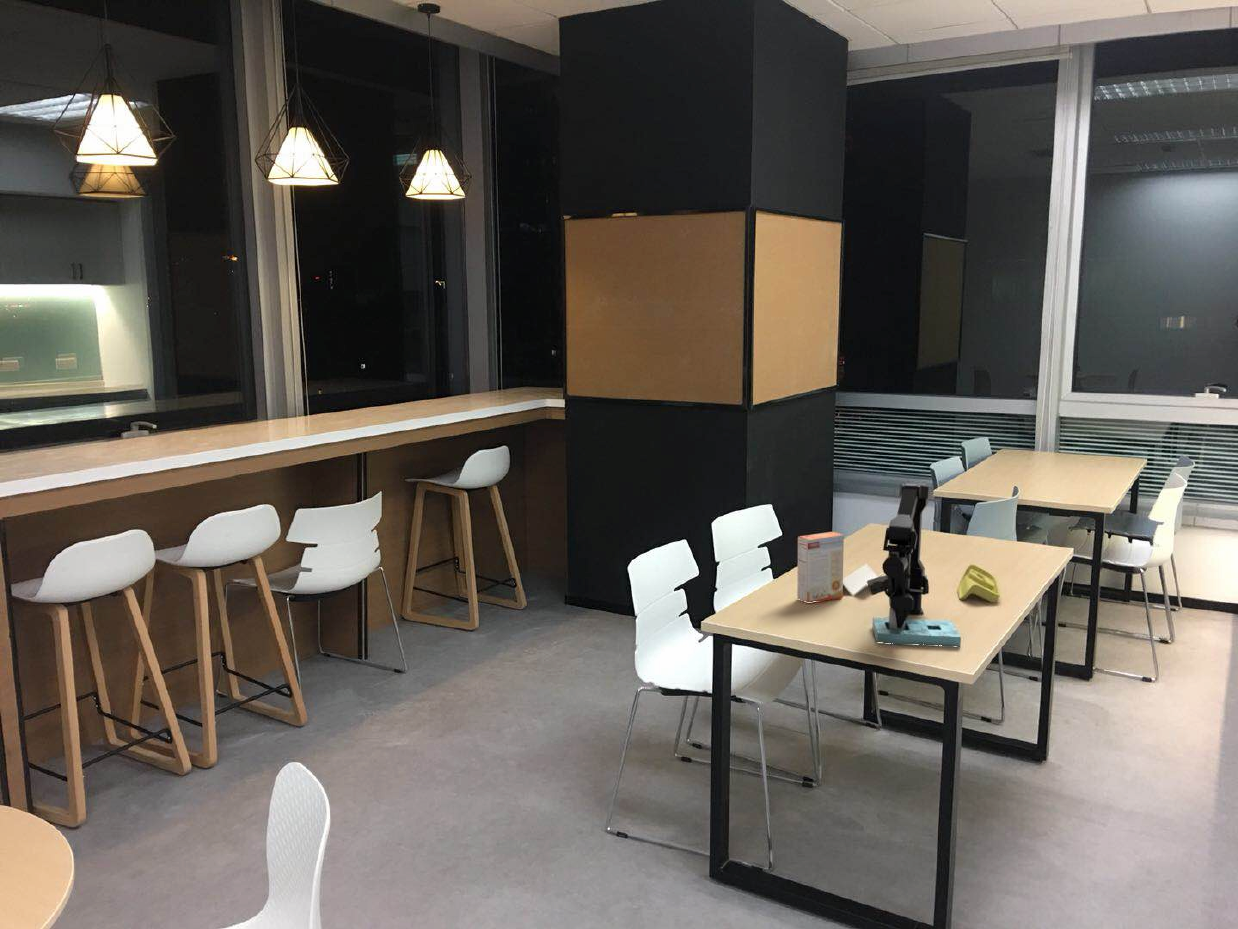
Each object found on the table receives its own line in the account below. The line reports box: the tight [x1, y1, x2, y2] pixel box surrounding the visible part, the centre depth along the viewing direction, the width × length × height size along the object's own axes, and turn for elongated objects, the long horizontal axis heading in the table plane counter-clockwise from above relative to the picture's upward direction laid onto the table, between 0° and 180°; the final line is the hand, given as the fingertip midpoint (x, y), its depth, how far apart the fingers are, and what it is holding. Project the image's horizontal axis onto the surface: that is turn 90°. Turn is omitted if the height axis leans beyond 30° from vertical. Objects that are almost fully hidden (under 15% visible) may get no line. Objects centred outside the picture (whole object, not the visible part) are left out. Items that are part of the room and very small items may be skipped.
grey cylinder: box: [888, 606, 905, 630], centre depth 273 cm, size 4×4×8 cm
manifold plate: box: [872, 616, 962, 648], centre depth 273 cm, size 14×22×3 cm, turn 81°
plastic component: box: [957, 563, 1001, 603], centre depth 313 cm, size 20×7×10 cm
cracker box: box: [796, 531, 845, 602], centre depth 307 cm, size 14×6×21 cm, turn 115°
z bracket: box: [843, 563, 885, 596], centre depth 323 cm, size 12×25×6 cm
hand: (897, 622), depth 273 cm, fingers open, 9 cm apart
